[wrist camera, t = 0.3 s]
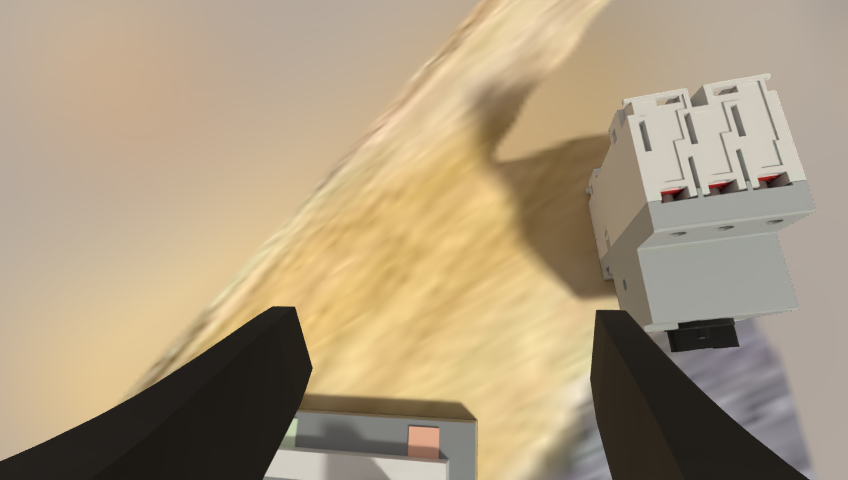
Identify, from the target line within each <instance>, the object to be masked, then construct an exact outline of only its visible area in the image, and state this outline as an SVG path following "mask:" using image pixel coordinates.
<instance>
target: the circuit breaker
mask: <svg viewBox="0 0 848 480" xmlns="http://www.w3.org/2000/svg"><path fill="white" fill-rule="evenodd" d="M770 78H771V75H770V73H767V74H762V75H756V76H750V77H744V78H740V79H733V80H728V81H722V82H717V83H711V84H705V85H702V87H701V88H700V89H699V90H698V91H697V92H696V93H695V94H694V95H693V97H692V98H691V99H690V98H689V94H688V91H687V88H683V89H677V90H672V91H666V92H661V93H655V94H650V95H644V96H638V97H633V98H627V99H623V101H622V105H623V106H625V108H624V109H622V110H617V111H616V113H615V116H614V118H613V121H612V123H611V126H610V128H609V135H610V140H611V145H610V148H609V150H608V152H607V155H606V157H605V159H604V162H603V164H602V166H601V168H594V169H593V172H592V175H591V177H590V180H589V182H588V184H589V188H586V193H587V194H591V199H590V201H589V209H590V214H591V219H592V224H593V229H594V234H595V239H596V244H597V249H598V254H599V259H600V265H601V270H602V275H603V279H604V280H610V279H614V283H615V288H616V293H617V297H618V302H619V307H620V310H626V311H627V312H628V313H629V314H630V315H631V316H632V317H633V318H634V320H635V321H636V322H637V323H638V324H639V325H640V326H641V328H642V329H643V330H644V331H645V332H652V331H663V330H664V332H667V334H668V338H669V343H670V347H671V352H682V351H689V350H696V349H705V348H713V349H714V348H728V347H739V342H738V339H737V335H736V331H735V327H734V324H735V322H734V321H738V320H744V319H749V318H755V317H760V316H766V315H772V314H777V313H783V312H788V311H792V310H797V309H799V304H798V301H797V297H796V294H795V291H794V288H793V284H792V281H791V278H790V275H789V271H788V268H787V265H786V262H785V258H784V255H783V252H782V249H781V246H780V242H779V239H778V236H777V231H779V230H781V229H783V228H785V227H787V226H788V225H791V224H793V223H794V222H796V221H798V220H800V219H802V218H804V217H806V216H808V215H810V214H812V213H814V212H816V206H815V203H814V201H813V198H812V195H811V192H810V189H809V186H808V183H807V180H806V177H805V174H804V171H803V168H802V165H801V162H800V159H799V157H798V153H797V151H796V148H795V145H794V142H793V139H792V136H791V133H790V130H789V127H788V124H787V121H786V119H785V116H784V113H783V110H782V107H781V104H780V101H779V98H778V95H777V92H776V90H774V91H767V88H766V85H765V82H764V81H767V80H769V79H770ZM719 90H722V92H721V93H720V94H719V95H718V96H714V94H713V91H719ZM667 99H669V100H668V101H667V102H666V104H665V105H661V106H657V103H656V102H657V101H662V100H667Z"/></svg>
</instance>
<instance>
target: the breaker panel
mask: <svg viewBox="0 0 848 480" xmlns="http://www.w3.org/2000/svg"><path fill="white" fill-rule="evenodd" d="M477 456H478V420H466V419H450V418H434V417H418V416H402V415H386V414H370V413H354V412H338V411H322V410H306V409H298V410H297V412H296V415H295V417H294V419H293V421H292V423H291V425H290V427H289V429H288V431H287V433H286V435H285V437H284V439H283V441H282V443H281V445H280V447H279V449H278V450H277V452H276V454H275V456H274V458H273V460H272V462H271V464H270V466H269V468H268V470H267V472H266V474H265V476H264V478H263V480H477Z"/></svg>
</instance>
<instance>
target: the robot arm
mask: <svg viewBox="0 0 848 480" xmlns="http://www.w3.org/2000/svg"><path fill="white" fill-rule="evenodd" d="M312 369H313V368H312V364H311V361H310V357H309V354H308V350H307V347H306V343H305V340H304V336H303V333H302V329H301V326H300V322H299V319H298V315H297V312H296V309H295V307H282V306H273V307H271V308H269V309H268V310H266V311H264V312H263V313H261V314H259V315H258V316H256V317H255V318H253V319H252V320H250V321H249V322H247V323H246V324H244V325H243V326H242V327H240V328H239V329H237V330H236V331H234V332H233V333H231V334H230V335H229V336H227V337H226V338H224V339H223V340H221V341H220V342H218V343H217V344H215V345H214V346H213V347H211V348H210V349H208V350H207V351H205V352H204V353H202V354H201V355H199V356H198V357H196V358H195V359H193V360H192V361H190V362H189V363H187V364H185V365H184V366H182V367H181V368H179V369H178V370H176V371H175V372H173V373H171V374H170V375H168V376H167V377H165V378H164V379H162V380H160V381H159V382H157V383H156V384H154V385H152V386H151V387H149V388H147V389H146V390H144V391H142V392H141V393H139V394H137V395H135V396H134V397H132V398H130V399H128V400H127V401H125V402H123V403H121V404H119V405H117V406H116V407H114V408H112V409H110V410H108V411H107V412H105V413H103V414H101V415H99V416H97V417H95V418H93V419H91V420H89V421H87V422H85V423H83V424H81V425H79V426H77V427H75V428H72V429H70V430H68V431H66V432H64V433H62V434H60V435H58V436H56V437H54V438H52V439H50V440H48V441H46V442H44V443H41V444H39V445H37V446H35V447H32V448H30V449H28V450H25V451H23V452H21V453H19V454H16V455H14V456H12V457H9V458H7V459H5V460H2V461H0V480H263V478H264V476H265V474H266V472H267V470H268V468H269V466H270V464H271V462H272V460H273V458H274V456H275V454H276V452H277V450H278V449H279V447H280V445H281V443H282V441H283V439H284V437H285V435H286V433H287V431H288V429H289V427H290V425H291V423H292V421H293V419H294V417H295V415H296V412H297V410H298V408H299V406H300V404H301V401H302V398H303V395H304V393H305V390H306V387H307V384H308V381H309V378H310V375H311V372H312ZM590 381H591V388H592V394H593V401H594V408H595V414H596V420H597V425H598V428H599V432H600V436H601V439H602V443H603V447H604V450H605V454H606V458H607V461H608V465H609V469H610V472H611V476H612V479H613V480H809V479H808V478H807V477H805V476H804V475H803V474H801V473H800V472H799V471H797V470H796V469H794V468H793V467H792V466H790V465H789V464H788V463H786V462H785V461H784V460H783V459H781V458H780V457H779V456H778V455H776V454H775V453H774V452H773V451H771V450H770V449H769V448H768V447H766V446H765V445H764V444H763V443H761V442H760V441H759V440H757V439H756V438H755V437H754V436H752V435H751V434H750V433H749V432H748V431H746V430H745V429H744V428H743V427H742V426H740V425H739V424H738V423H737V422H736V421H735V420H733V419H732V418H731V417H730V416H729V415H728V414H727V413H726V412H725V411H723V410H722V409H721V408H720V407H719V406H718V405H717V404H716V403H715V402H714V401H712V400H711V399H710V398H709V397H708V396H707V395H706V394H705V393H704V392H703V391H702V390H701V389H700V388H699V387H698V386H697V385H696V384H695V383H694V382H693V381H692V380H691V379H690V378H689V377H688V376H687V375H686V374H685V373H684V372H683V371H682V370H681V369H680V368H679V367H678V366H677V365H676V364H675V363H674V362H673V361H672V360H671V359H670V358H669V357H668V356H667V355H666V354H665V353H664V352H663V351H662V350H661V348H660V347H659V346H658V345H657V344H656V343H655V342H654V341H653V340H652V339H651V338H650V336H649V335H648V334H647V333H646V332H645V331H644V330H643V329H642V328H641V326H640V325H639V324H638V323H637V322H636V321H635V320H634V318H633V317H632V316H631V315H630V314H629V313H628V312H627V311H626V310H596V317H595V329H594V341H593V352H592V364H591V376H590Z"/></svg>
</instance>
